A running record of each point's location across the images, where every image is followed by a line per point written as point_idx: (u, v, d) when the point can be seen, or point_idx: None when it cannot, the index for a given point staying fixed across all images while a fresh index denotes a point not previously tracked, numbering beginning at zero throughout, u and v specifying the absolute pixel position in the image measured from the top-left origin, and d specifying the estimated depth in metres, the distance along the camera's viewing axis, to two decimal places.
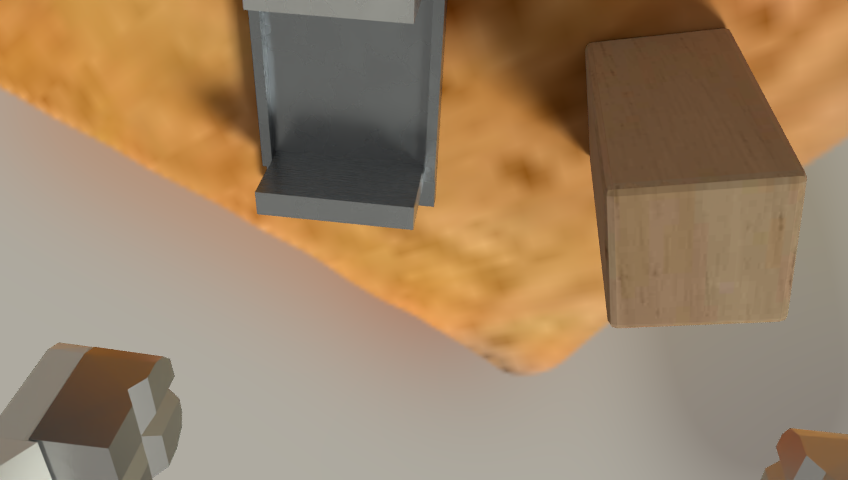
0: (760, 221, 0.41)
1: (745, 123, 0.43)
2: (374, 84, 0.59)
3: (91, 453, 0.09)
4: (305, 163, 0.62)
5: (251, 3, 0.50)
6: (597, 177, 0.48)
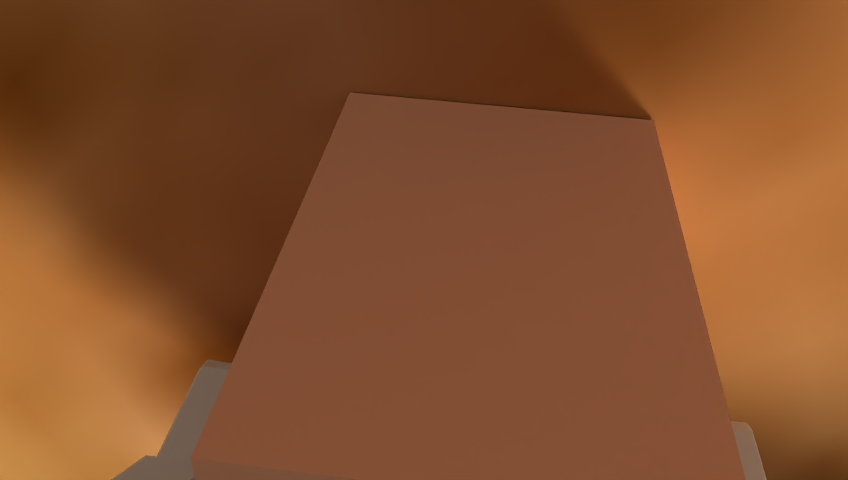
0: None
1: None
2: None
3: None
4: None
5: None
6: None
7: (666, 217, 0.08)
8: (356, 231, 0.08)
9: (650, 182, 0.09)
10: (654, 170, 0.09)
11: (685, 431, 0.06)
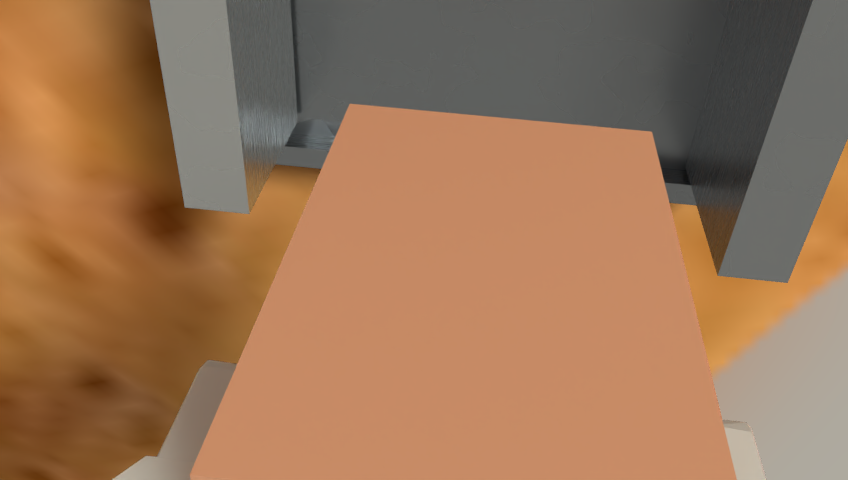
0: None
1: None
2: None
3: None
4: (712, 118, 0.25)
5: (232, 196, 0.23)
6: None
7: (664, 230, 0.08)
8: (356, 244, 0.08)
9: (648, 195, 0.09)
10: (653, 182, 0.09)
11: (681, 447, 0.06)
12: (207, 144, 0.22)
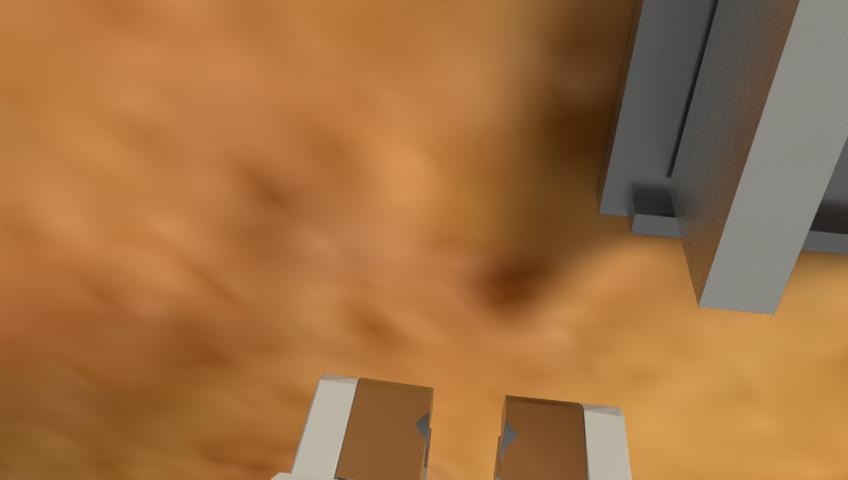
0: None
1: None
2: None
3: None
4: None
5: (763, 296, 0.21)
6: None
7: None
8: None
9: None
10: None
11: None
12: (761, 241, 0.20)
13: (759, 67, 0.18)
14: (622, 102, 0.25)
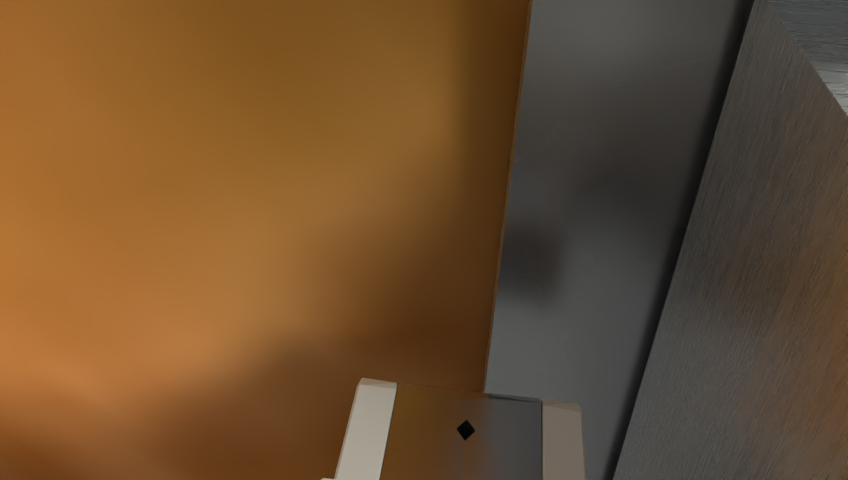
0: None
1: None
2: None
3: None
4: None
5: None
6: None
7: None
8: None
9: None
10: None
11: None
12: None
13: None
14: None
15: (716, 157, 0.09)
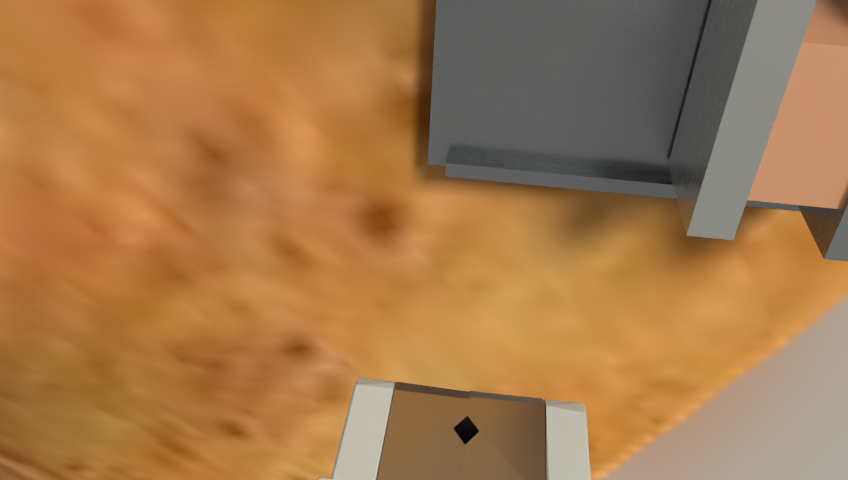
0: None
1: None
2: (691, 16, 0.35)
3: None
4: None
5: (726, 228, 0.34)
6: None
7: None
8: None
9: None
10: None
11: None
12: (724, 193, 0.33)
13: (721, 90, 0.31)
14: None
15: None
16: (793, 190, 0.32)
